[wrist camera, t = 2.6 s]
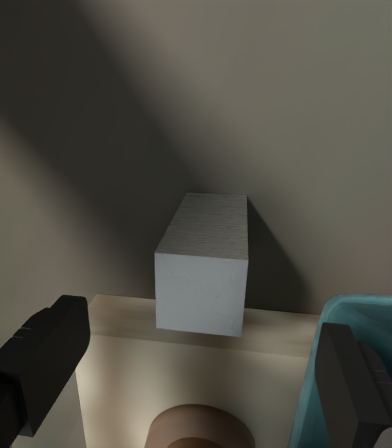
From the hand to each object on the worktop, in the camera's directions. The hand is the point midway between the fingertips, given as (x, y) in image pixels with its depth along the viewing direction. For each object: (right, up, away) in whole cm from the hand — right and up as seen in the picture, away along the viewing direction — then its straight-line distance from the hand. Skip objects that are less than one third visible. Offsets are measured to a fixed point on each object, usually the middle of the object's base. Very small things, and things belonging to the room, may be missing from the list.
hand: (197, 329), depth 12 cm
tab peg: (+1, +4, +9) cm, 10 cm away
